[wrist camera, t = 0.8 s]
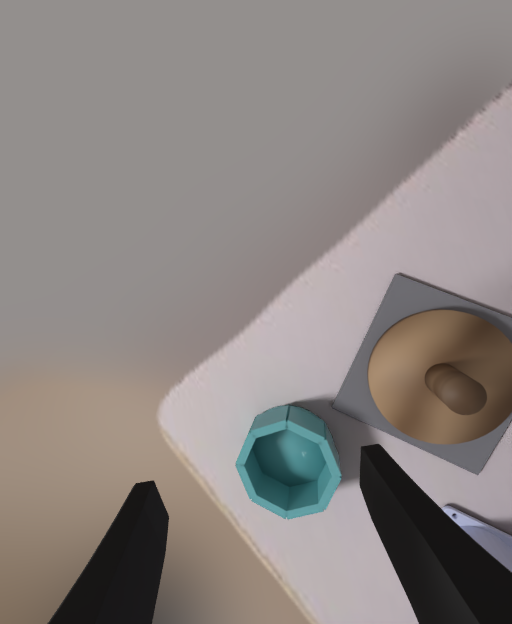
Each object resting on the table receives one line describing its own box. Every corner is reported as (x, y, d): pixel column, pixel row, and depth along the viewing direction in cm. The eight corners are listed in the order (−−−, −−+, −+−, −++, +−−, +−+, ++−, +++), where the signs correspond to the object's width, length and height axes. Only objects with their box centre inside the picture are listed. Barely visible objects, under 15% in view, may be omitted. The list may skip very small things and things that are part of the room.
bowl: (349, 429, 29) (354, 452, 25) (313, 501, 30) (313, 533, 27) (266, 390, 30) (259, 406, 26) (236, 461, 32) (225, 487, 28)
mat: (558, 335, 24) (562, 336, 24) (475, 472, 27) (477, 475, 26) (395, 274, 26) (396, 273, 26) (332, 406, 29) (332, 407, 28)
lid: (542, 342, 24) (599, 358, 19) (472, 460, 26) (507, 501, 22) (402, 288, 26) (422, 290, 21) (346, 403, 28) (353, 429, 23)
